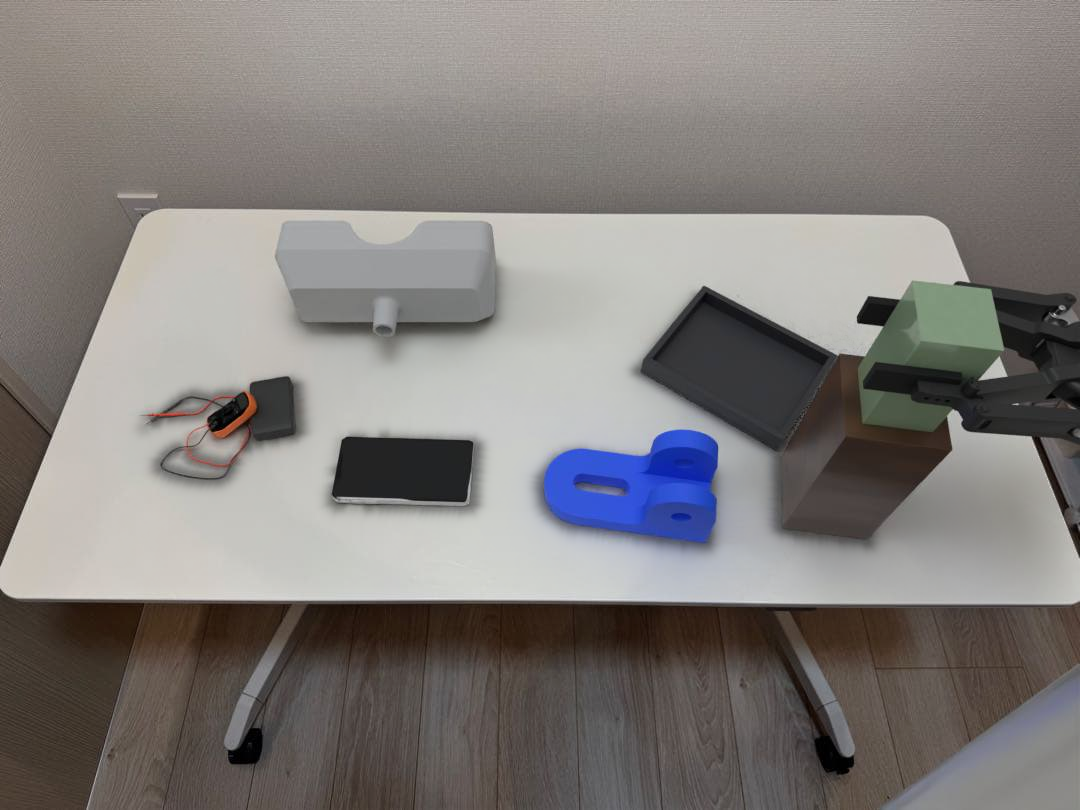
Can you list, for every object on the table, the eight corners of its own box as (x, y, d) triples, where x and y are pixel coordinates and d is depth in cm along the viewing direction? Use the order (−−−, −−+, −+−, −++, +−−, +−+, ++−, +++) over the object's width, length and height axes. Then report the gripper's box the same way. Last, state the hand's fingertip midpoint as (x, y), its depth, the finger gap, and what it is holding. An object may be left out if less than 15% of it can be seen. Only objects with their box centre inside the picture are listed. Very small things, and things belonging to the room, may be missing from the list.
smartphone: (468, 503, 83) (330, 499, 83) (469, 508, 84) (332, 504, 84) (473, 438, 87) (342, 435, 87) (474, 444, 88) (344, 440, 88)
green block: (932, 432, 66) (1004, 350, 56) (862, 423, 67) (921, 340, 57) (924, 376, 69) (991, 288, 59) (857, 368, 70) (912, 279, 60)
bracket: (707, 474, 86) (724, 434, 79) (704, 543, 82) (722, 507, 74) (549, 452, 88) (551, 411, 80) (538, 519, 83) (539, 482, 76)
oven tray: (776, 451, 88) (783, 440, 86) (640, 371, 94) (642, 359, 92) (831, 367, 94) (838, 355, 92) (700, 298, 100) (703, 285, 98)
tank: (290, 362, 94) (260, 295, 84) (310, 264, 103) (285, 193, 92) (493, 361, 95) (488, 295, 84) (496, 264, 103) (492, 193, 92)
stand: (866, 540, 82) (952, 450, 65) (782, 528, 83) (845, 436, 66) (860, 466, 87) (939, 364, 70) (780, 456, 88) (839, 353, 71)
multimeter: (130, 489, 85) (115, 475, 82) (144, 399, 91) (132, 383, 88) (294, 470, 86) (286, 455, 83) (298, 382, 93) (290, 366, 90)
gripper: (1165, 506, 59) (858, 466, 60) (1104, 314, 69) (842, 284, 70) (1242, 459, 52) (896, 416, 54) (1163, 255, 62) (873, 224, 64)
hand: (866, 341), depth 62 cm, fingers closed on green block, 6 cm apart
